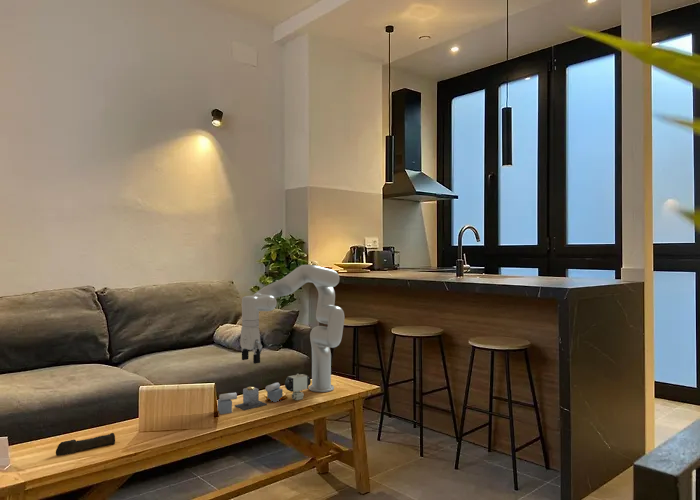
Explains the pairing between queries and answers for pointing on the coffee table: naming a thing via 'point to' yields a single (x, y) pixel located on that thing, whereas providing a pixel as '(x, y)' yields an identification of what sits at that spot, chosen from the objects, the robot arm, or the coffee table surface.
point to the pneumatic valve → (297, 385)
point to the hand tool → (84, 444)
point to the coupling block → (250, 396)
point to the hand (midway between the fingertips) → (250, 361)
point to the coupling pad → (244, 407)
